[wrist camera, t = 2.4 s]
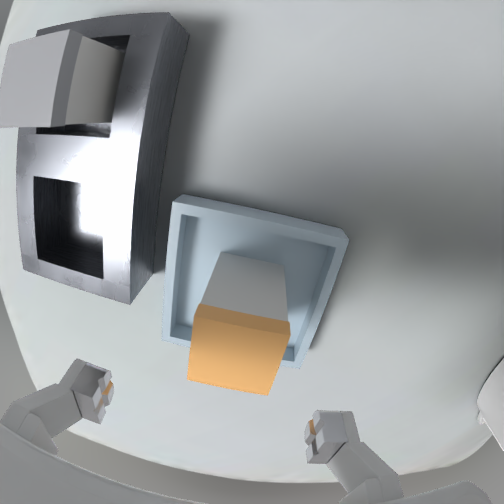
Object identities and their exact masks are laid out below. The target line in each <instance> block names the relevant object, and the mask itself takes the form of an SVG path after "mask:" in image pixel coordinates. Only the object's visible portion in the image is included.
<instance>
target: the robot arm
mask: <svg viewBox="0 0 504 504" xmlns="http://www.w3.org/2000/svg"><path fill="white" fill-rule="evenodd" d="M111 377H112V375H111V371H109V370H106V369H104V368H101V367H98V366H96V365H93V364H91V363H88V362H85V361H83V360H80V359H76V360H75V361H74V362H73V363H72V365H71V366H70V368H69V369H68V371H67V372H66V374H65V375H64V377H63V378H62V380H61V381H60V383H59V384H56V383H55V384H53V385H51V386H48V387H46V388H44V389H41V390H39V391H37V392H35V393H32V394H30V395H27V396H25V397H23V398H20V399H18V400H16V401H13V403H12V404H11V405H10V407H9V408H8V410H7V411H6V413H5V414H4V416H3V417H2V419H1V420H0V504H206V503H200V502H194V501H189V500H184V499H179V498H175V497H170V496H165V495H162V494H158V493H154V492H150V491H147V490H143V489H140V488H137V487H133V486H130V485H127V484H124V483H121V482H118V481H115V480H112V479H109V478H106V477H104V476H101V475H99V474H96V473H93V472H91V471H89V470H86V469H84V468H82V467H79V466H77V465H75V464H73V463H70V462H68V461H66V460H64V459H62V458H60V457H58V456H56V454H57V452H58V448H57V446H56V445H55V443H54V441H53V440H52V438H53V437H54V436H56V435H58V434H59V433H61V432H62V431H64V430H65V429H67V428H68V427H70V426H72V425H73V424H75V423H76V422H78V421H79V420H81V419H82V418H85V419H87V420H90V421H93V422H95V423H98V424H101V422H102V420H103V417H104V415H105V413H106V411H105V406H107V405H109V404H110V402H111V400H112V397H113V393H114V386H113V383H112V382H111V381H110V379H111ZM477 406H478V408H479V410H480V412H479V415H478V418H477V420H478V422H479V423H480V424H481V425H482V424H485V423H486V424H487V425H488V427H489V428H490V430H491V432H492V433H493V435H494V436H495V438H496V440H497V441H498V443H499V445H500V446H501V448H502V450H503V451H504V358H503V360H502V361H501V362H500V363H499V364H498V366H497V367H496V368H495V369H494V371H493V372H492V373H491V375H490V376H489V378H488V379H487V381H486V382H485V384H484V386H483V387H482V389H481V391H480V394H479V396H478V400H477ZM305 442H306V443H307V444H308V445H309V447H308V448H307V449H306V456H307V463H314V464H326V465H327V466H328V468H329V469H330V470H331V472H332V473H333V474H334V476H335V477H336V478H337V480H338V481H339V482H340V483H341V485H342V486H343V487H344V489H345V490H346V491H347V492H348V495H347V496H345V497H344V498H343V499H342V500H340V501H339V502H338V504H491V501H490V499H489V497H488V495H487V494H486V493H485V492H484V491H483V490H481V489H480V488H479V487H477V486H476V485H475V484H473V483H472V482H470V481H467V480H465V481H460V482H458V483H455V484H452V485H449V486H446V487H443V488H440V489H436V490H433V491H429V492H426V493H422V494H418V495H415V496H410V497H406V498H404V496H403V492H402V488H401V485H400V481H399V477H398V474H397V473H396V472H395V471H394V470H393V469H391V468H390V467H389V466H388V465H387V464H386V463H385V462H384V461H383V460H382V459H381V458H380V457H379V456H378V455H376V454H375V453H374V452H373V451H372V450H371V449H370V448H369V447H368V446H367V445H366V444H365V443H364V442H360V438H359V435H358V431H357V427H356V423H355V419H354V416H353V413H352V412H351V411H326V410H316V411H315V412H314V414H313V419H312V420H310V421H309V422H308V424H307V426H306V429H305Z"/></svg>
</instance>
